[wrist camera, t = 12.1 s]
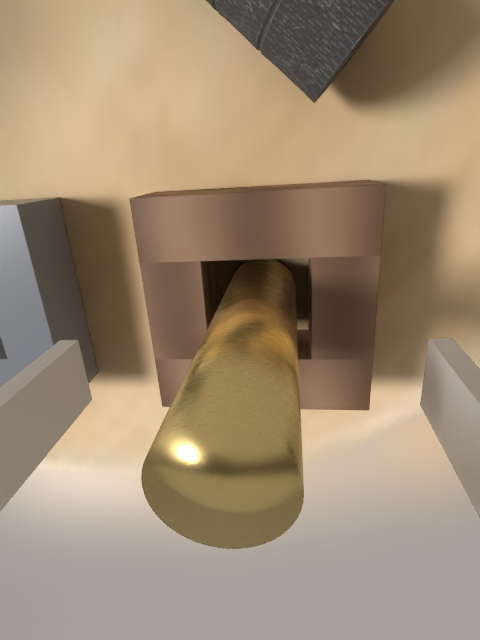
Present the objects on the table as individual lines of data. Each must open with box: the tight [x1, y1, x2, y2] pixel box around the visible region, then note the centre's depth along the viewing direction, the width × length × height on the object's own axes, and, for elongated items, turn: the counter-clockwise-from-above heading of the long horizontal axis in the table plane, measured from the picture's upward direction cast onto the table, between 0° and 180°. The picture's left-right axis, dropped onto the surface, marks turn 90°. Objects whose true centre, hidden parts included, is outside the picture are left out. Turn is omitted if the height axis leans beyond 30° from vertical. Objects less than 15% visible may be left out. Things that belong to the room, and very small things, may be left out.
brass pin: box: [142, 259, 304, 549], centre depth 17 cm, size 4×4×16 cm
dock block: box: [130, 180, 386, 410], centre depth 22 cm, size 12×12×4 cm
